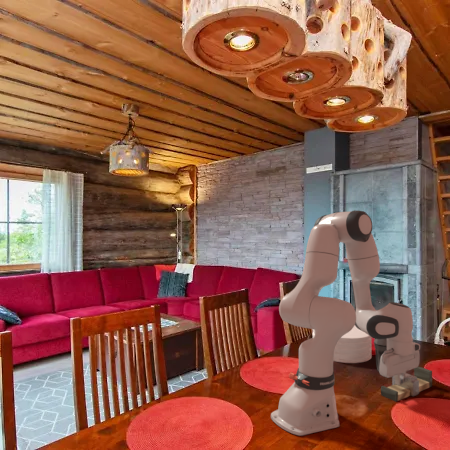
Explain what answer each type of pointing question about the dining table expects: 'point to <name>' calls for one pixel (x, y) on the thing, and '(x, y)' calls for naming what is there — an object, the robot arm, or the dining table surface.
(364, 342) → the plate stack
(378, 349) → the beverage cup
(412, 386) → the block
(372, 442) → the dining table surface
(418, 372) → the rail
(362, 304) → the robot arm
